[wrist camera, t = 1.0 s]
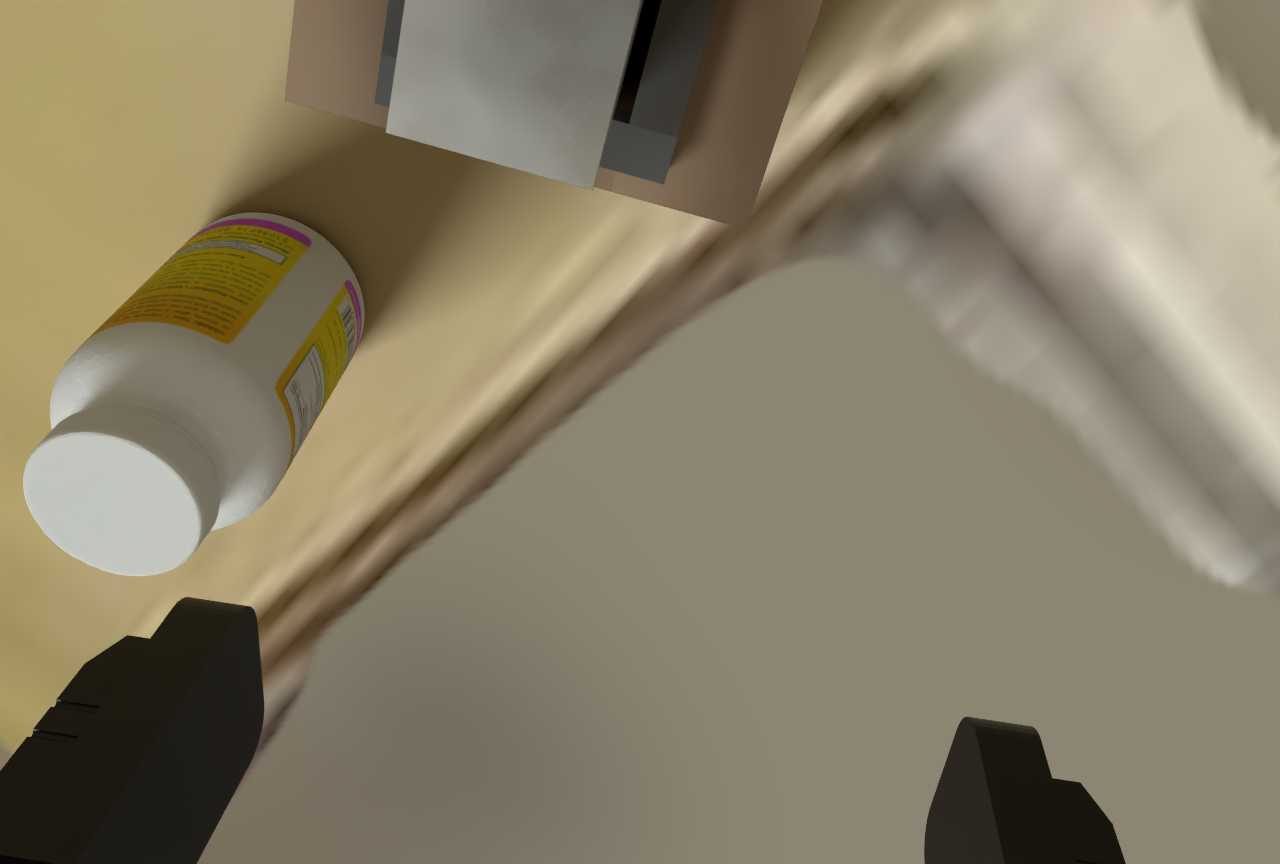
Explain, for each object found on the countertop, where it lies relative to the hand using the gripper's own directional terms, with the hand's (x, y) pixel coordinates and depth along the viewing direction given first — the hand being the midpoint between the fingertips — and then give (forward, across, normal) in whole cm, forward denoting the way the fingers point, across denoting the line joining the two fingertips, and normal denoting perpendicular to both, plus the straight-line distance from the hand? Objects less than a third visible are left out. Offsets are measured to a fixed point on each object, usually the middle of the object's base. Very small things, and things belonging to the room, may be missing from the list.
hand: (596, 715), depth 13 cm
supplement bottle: (+26, +14, +8) cm, 31 cm away
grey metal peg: (+19, +4, -5) cm, 20 cm away
